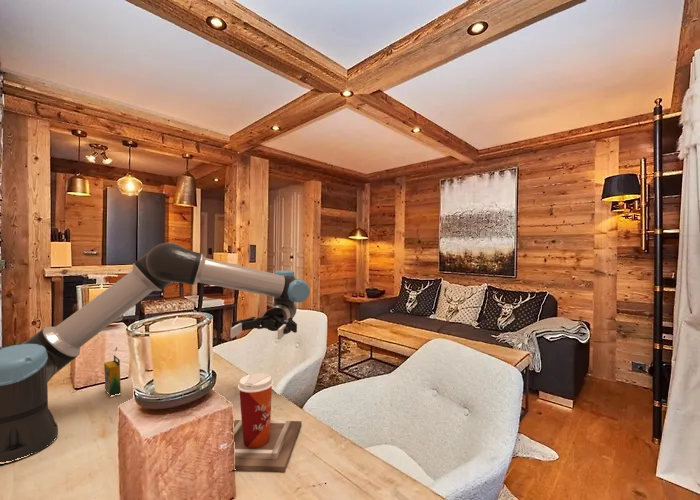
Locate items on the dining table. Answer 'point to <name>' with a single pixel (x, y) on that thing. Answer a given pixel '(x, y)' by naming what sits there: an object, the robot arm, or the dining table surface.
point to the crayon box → (112, 376)
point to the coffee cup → (255, 408)
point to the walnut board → (267, 448)
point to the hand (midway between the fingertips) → (255, 333)
